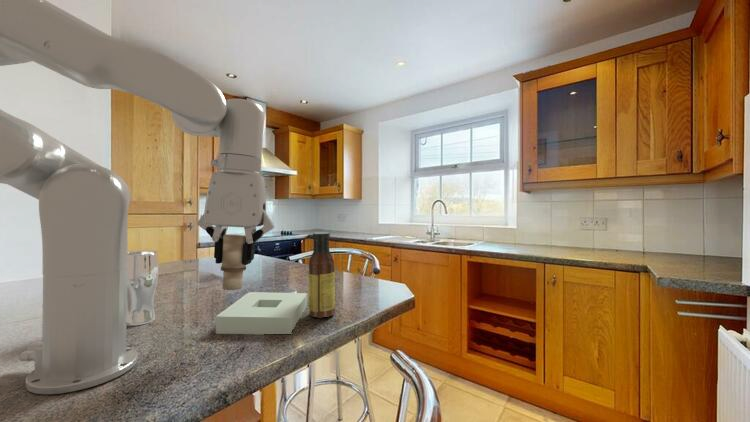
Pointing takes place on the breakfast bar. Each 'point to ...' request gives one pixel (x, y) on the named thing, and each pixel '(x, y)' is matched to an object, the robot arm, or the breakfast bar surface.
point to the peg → (232, 261)
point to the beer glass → (141, 286)
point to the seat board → (262, 314)
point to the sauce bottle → (321, 278)
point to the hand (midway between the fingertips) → (233, 262)
